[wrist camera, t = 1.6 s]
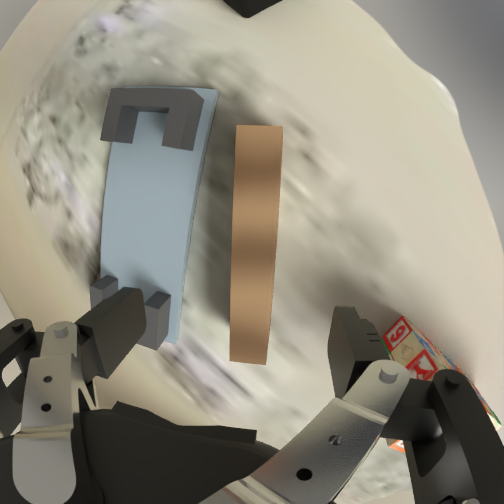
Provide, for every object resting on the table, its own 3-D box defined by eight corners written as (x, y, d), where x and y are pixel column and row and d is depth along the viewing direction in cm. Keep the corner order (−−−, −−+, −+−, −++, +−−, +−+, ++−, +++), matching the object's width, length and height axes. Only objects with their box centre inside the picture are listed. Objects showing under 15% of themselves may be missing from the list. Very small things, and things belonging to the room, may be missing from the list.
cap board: (178, 339, 27) (164, 361, 24) (106, 314, 28) (87, 330, 24) (219, 92, 21) (206, 78, 17) (130, 88, 21) (107, 78, 17)
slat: (269, 333, 26) (265, 364, 22) (238, 330, 27) (229, 361, 22) (282, 136, 21) (282, 126, 17) (246, 135, 22) (236, 124, 17)
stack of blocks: (475, 385, 26) (511, 441, 14) (444, 414, 28) (472, 473, 16) (401, 313, 24) (456, 395, 12) (358, 356, 26) (387, 449, 14)
